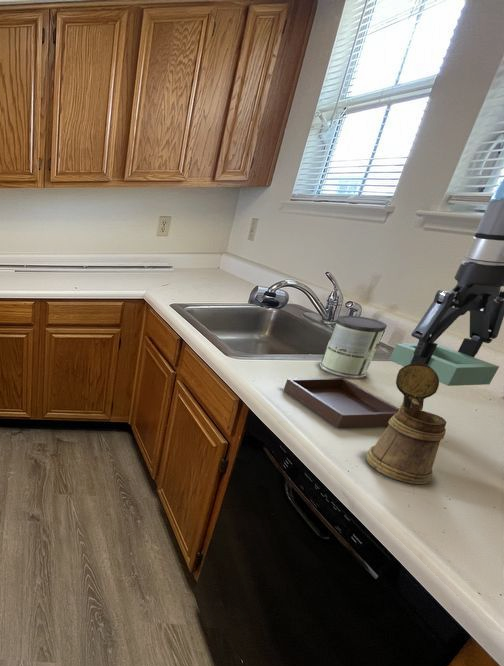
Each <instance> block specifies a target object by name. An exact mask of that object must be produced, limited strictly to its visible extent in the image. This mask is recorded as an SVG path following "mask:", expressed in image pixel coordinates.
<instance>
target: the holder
mask: <svg viewBox="0 0 504 666" xmlns="http://www.w3.org/2000/svg"><path fill="white" fill-rule="evenodd" d="M283 391H284V392H285V393H287V394H288V395H290V396H292V398H294V399H295V400H297V401H299V402H300V403H301V404H303V405H304V406H306V407H307V408H308V409H310V410H311V411H313V412H314V413H316V414H317V415H319V416H320V417H321V418H323V419H324V420H325V421H327V422H328V423H330V424H331V425H333V426H334V427H336V428H337V429H338V428H339V429H342V428H344V429H345V428H368V427H369V428H370V427H373V428H374V427H388V426H389V423H388V422H389V420H390V418H391V417H392V416H393V415H394V414H397V413H398V411H399V409H400V407H397V406H395V405H394V404H392V403H390V402H388V401H386V400H385V399H383V398H381V397H379V396H378V395H376V394H374V393H372V392H370V391H368V390H367V389H365V388H362V387H361V386H359V385H357V384H355V383H354V382H352V381H350V380H348V379H347V378H346V377H317V378H315V377H314V378H287V379H286V382H285V385H284V388H283Z"/></svg>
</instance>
